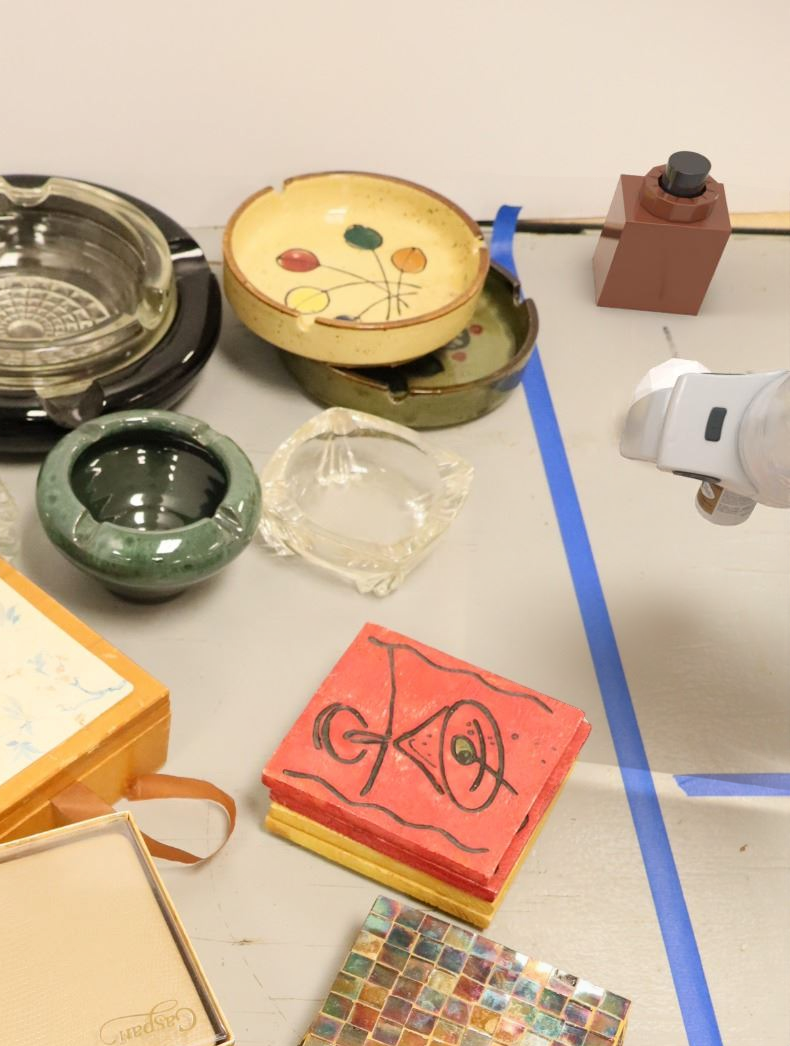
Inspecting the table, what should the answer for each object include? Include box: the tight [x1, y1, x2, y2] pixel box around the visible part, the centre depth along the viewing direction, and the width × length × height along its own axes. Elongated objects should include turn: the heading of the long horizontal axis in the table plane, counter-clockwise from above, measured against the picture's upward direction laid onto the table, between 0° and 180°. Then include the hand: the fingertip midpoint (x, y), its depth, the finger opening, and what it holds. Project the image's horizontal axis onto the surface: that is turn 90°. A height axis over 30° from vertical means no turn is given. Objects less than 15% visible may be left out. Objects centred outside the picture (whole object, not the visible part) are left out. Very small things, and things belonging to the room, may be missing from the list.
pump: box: [660, 150, 712, 199], centre depth 136 cm, size 4×4×2 cm
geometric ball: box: [629, 357, 713, 408], centre depth 130 cm, size 8×8×8 cm
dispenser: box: [592, 163, 733, 317], centre depth 141 cm, size 10×8×11 cm
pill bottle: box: [694, 481, 758, 527], centre depth 109 cm, size 4×4×8 cm
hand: (742, 459), depth 109 cm, fingers closed on pill bottle, 4 cm apart
